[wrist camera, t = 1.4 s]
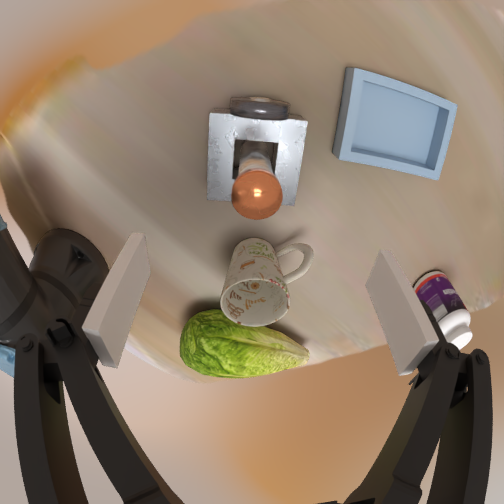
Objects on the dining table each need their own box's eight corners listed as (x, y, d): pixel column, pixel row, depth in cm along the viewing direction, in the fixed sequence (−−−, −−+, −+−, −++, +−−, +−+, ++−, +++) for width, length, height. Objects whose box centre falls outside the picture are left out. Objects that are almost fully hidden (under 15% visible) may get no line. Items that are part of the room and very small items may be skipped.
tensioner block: (211, 186, 35) (204, 210, 30) (215, 92, 28) (207, 97, 23) (289, 191, 36) (297, 216, 31) (303, 100, 29) (315, 107, 24)
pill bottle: (450, 276, 45) (484, 331, 34) (424, 304, 50) (451, 360, 38) (430, 262, 43) (468, 322, 31) (402, 293, 47) (431, 355, 36)
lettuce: (286, 383, 56) (320, 394, 44) (171, 365, 48) (179, 377, 37) (296, 329, 59) (331, 328, 48) (184, 304, 52) (196, 298, 41)
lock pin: (236, 165, 34) (230, 217, 23) (238, 133, 31) (232, 171, 21) (269, 167, 34) (279, 221, 23) (272, 136, 31) (286, 175, 21)
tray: (331, 152, 32) (338, 159, 30) (345, 67, 26) (354, 67, 24) (427, 172, 33) (437, 180, 31) (444, 100, 27) (457, 105, 24)
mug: (213, 248, 41) (205, 298, 33) (290, 204, 37) (302, 249, 29) (246, 284, 45) (246, 334, 37) (317, 248, 41) (333, 296, 33)
